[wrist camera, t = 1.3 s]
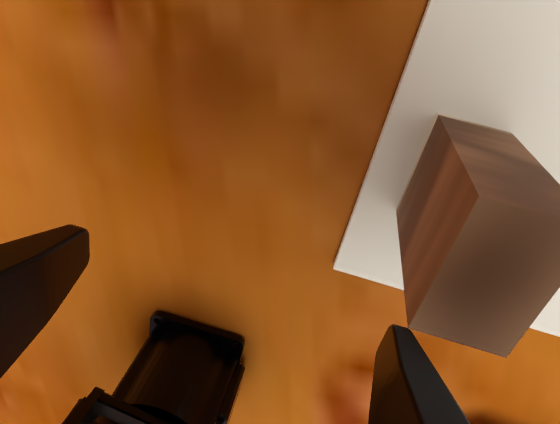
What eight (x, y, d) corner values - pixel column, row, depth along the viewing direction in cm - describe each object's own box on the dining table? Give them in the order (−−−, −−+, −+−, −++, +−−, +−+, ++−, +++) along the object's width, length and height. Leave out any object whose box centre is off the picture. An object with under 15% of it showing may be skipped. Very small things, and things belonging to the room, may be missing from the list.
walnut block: (395, 210, 20) (407, 327, 13) (437, 112, 18) (479, 195, 11) (460, 228, 20) (506, 357, 13) (511, 132, 17) (602, 230, 10)
